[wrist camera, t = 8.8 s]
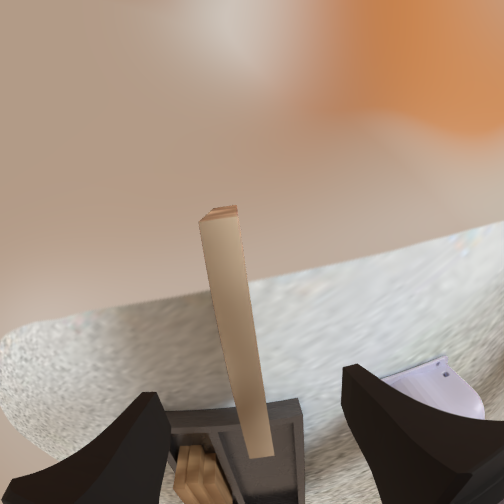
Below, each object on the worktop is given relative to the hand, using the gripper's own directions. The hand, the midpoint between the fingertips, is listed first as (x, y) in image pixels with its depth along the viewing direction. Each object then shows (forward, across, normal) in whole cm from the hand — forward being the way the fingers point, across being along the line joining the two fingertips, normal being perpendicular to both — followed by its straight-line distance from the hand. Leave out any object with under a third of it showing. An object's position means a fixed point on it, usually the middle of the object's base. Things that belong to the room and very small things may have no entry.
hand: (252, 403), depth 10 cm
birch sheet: (+10, 0, 0) cm, 11 cm away
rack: (+10, +3, +20) cm, 23 cm away
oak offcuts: (+10, +7, +20) cm, 23 cm away
